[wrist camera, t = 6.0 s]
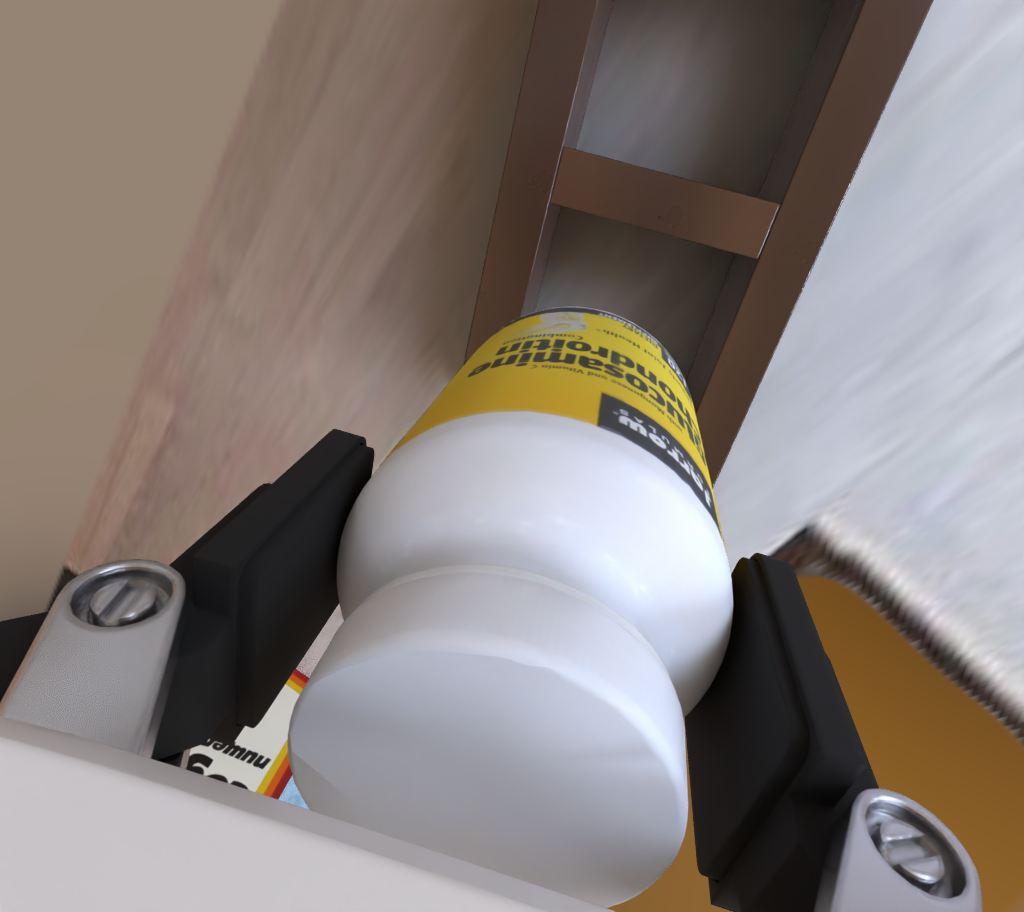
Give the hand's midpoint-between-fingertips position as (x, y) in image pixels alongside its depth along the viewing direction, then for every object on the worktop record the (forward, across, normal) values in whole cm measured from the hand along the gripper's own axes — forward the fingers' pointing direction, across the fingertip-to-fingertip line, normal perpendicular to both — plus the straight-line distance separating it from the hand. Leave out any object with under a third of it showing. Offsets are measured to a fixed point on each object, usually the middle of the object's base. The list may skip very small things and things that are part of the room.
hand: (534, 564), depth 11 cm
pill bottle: (+7, 0, 0) cm, 7 cm away
